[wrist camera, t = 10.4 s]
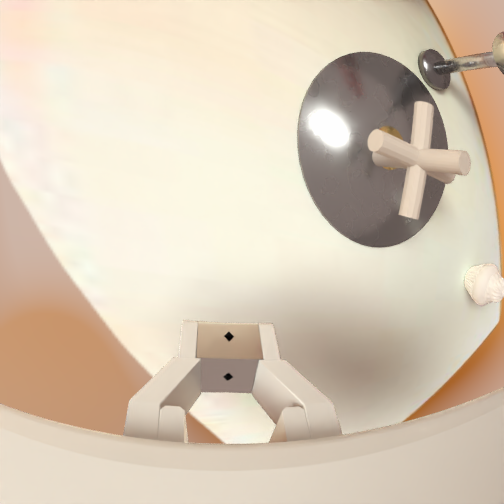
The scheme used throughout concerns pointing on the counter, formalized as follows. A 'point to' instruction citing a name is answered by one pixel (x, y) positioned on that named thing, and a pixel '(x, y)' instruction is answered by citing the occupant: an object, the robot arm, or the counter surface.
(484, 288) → the muffin
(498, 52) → the ball knob lever
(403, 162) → the pipe connector
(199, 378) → the robot arm
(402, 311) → the counter surface
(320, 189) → the turntable
